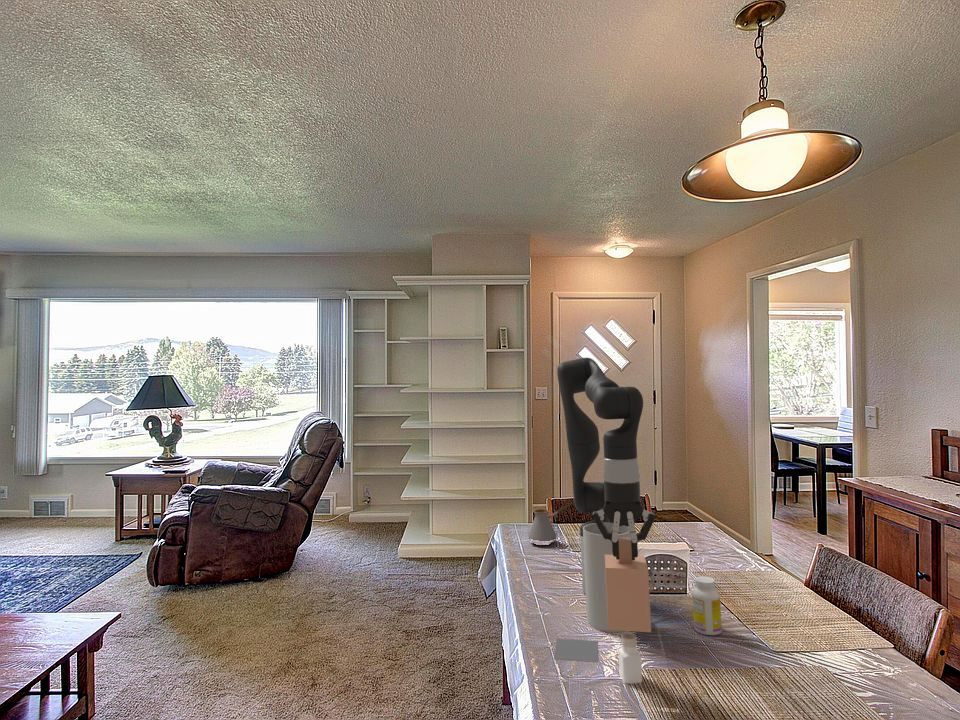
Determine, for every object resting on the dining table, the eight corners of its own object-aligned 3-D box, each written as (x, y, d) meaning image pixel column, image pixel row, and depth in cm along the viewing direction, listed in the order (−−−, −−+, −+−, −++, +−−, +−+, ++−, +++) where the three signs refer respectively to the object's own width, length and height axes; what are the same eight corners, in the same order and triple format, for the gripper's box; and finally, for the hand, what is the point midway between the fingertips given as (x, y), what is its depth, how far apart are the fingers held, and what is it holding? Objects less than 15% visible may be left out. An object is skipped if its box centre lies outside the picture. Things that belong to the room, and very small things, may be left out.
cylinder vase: (608, 639, 133) (603, 538, 134) (577, 620, 144) (573, 527, 145) (645, 627, 138) (640, 530, 139) (612, 609, 149) (608, 520, 151)
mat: (597, 643, 131) (597, 641, 131) (598, 664, 121) (598, 662, 121) (556, 640, 133) (556, 638, 133) (554, 661, 123) (554, 659, 123)
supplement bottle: (720, 626, 137) (718, 575, 138) (723, 638, 131) (720, 585, 132) (693, 623, 140) (690, 573, 140) (694, 634, 133) (691, 583, 134)
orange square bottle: (646, 614, 118) (643, 534, 118) (651, 632, 109) (647, 546, 110) (607, 611, 119) (603, 533, 120) (608, 629, 111) (604, 544, 112)
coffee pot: (535, 549, 205) (533, 510, 206) (523, 541, 216) (522, 504, 217) (584, 542, 212) (582, 504, 213) (570, 534, 223) (569, 498, 224)
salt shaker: (636, 675, 116) (634, 630, 117) (643, 685, 112) (640, 639, 113) (618, 676, 116) (616, 631, 117) (624, 686, 112) (622, 640, 113)
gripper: (653, 475, 118) (656, 554, 117) (589, 475, 121) (592, 552, 120) (657, 481, 110) (661, 566, 110) (588, 481, 113) (592, 563, 113)
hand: (625, 558), depth 115 cm, fingers closed on orange square bottle, 2 cm apart
